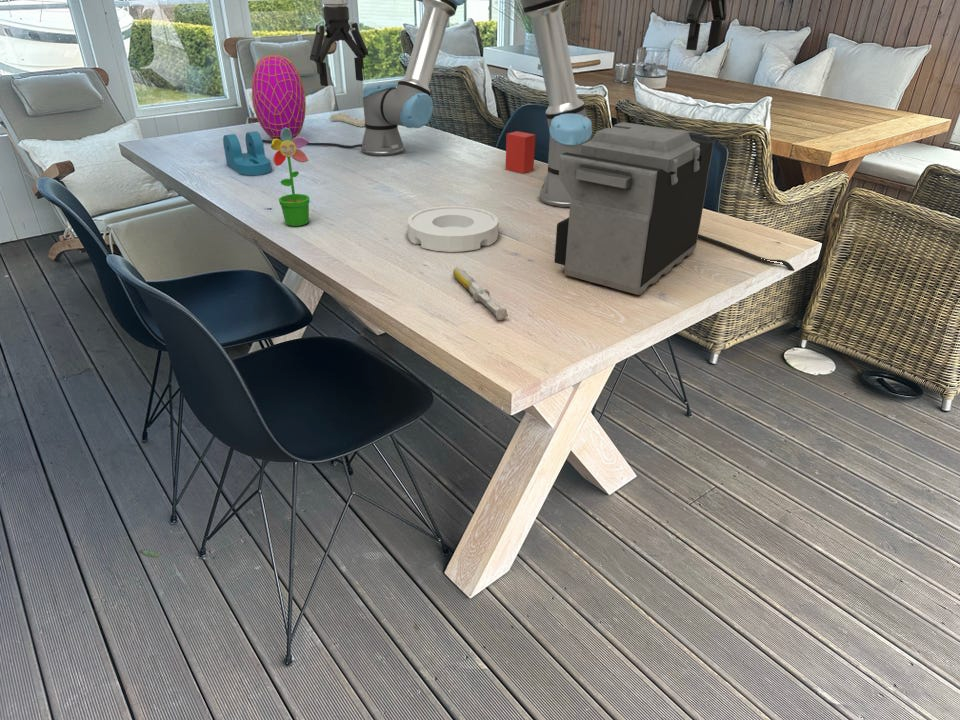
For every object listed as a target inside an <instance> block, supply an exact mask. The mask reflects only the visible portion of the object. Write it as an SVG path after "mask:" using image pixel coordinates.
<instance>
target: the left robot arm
mask: <svg viewBox="0 0 960 720" xmlns="http://www.w3.org/2000/svg"><path fill="white" fill-rule="evenodd" d="M416 1H417V2H421V3H422V5H423V6H424V11H423V13H422V18H421V21H420V23H419V27H418V30H417V34H416V37H415V41H414V44H413V48H412V51H411V54H410V57H409V61H408V64H407V67H406V70H405V74H404V77H403V78H401V79H399V80H398V81H397V85H396V83H394V82H386V83H385V82H384V83H375V84H369V85H366V86H364V87H363V89H362V104H363V115H364V116H363V117H364V120H365V126H364V127H365V130H364V134H363V137H362V143H359V144H353V145H352V144H351V145H347V144H341V143H335V142H309V143H307V144H306V145H305V146H331V147H338V148H344V149H355V148H361V152H362V153H363V154H366V155H368V156H377V157H378V156H379V157H384V156H393V155H399V154H401V153H403V152H404V151H405V148H404V147H405V146H404V143H403V140H402V137H401V134H400V131H399V127H400V126H401V127H405V128H407V129H421V128H422V127H423V126H426V125H427V124H428V123H429V121H430V120H431V118H432V116H433V112H434V105H433V104H434V103H433V99H432V97H431V94H432V92H431V90H430V87H429V86H430V82H431V79H432V75H433V73H434V69H435V67H436V66H435V65H436V63H437V59H438V56H439V53H440V49H441V46H442V43H443V39H444V36H445V33H446V30H447V27H448V22H449V20H450V18H451V17H454V16H456V12H457V9H458V6H462V5H463V4H465V3H466V2H467V0H416ZM321 4H322V5H324V6H323V7H322V18H323V21H324V25H320V24H316V26H315V36H314V40H313V43H312V47H311V50H310V55H309V60H310V61H313V62H314V63H315V65H316V72H317V75H319V83H320V86H322V87H329V80H328V73H327V72H328V70H327V63H326V62H324V61H325V59H326V57H327V55H328V53H329V50H330V49H331V47H332V45H333V44H335V42H339V41H341V42H342V41H344V42H345V43H346V44H347V46H348V47H349V49H350V50H351V51H352V52H353V54H354V55H355V57H353V59H354V72H355V81H359V82H363V81H364V71H363V69H365V68H364V67H365V65H364V62H365V61H364V59H366V56H368V55H369V50H368V48H367V46H366V44H365V41H364V39H363V36H362V35H361V32H360V30H359V24H358V22H349V20H350V9H349V7H348V6H347V5H348V4H349V0H321ZM349 32H350V33H351V34H350V33H349ZM398 126H399V127H398ZM262 141H263V143H265V144H266V143H267V144H272V141H273V140H269V139H268V140H267V139H262Z"/></svg>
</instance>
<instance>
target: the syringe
mask: <svg viewBox="0 0 960 720" xmlns="http://www.w3.org/2000/svg"><path fill="white" fill-rule="evenodd" d="M452 274H453V277H454V279H455V280H457V281H458V282H459V283H460V285H462V287H464V289H466V290H467V291H468V293H470V295H471V296H472V298H473V300H474V302H477V303H478V302H480V303H482V304H483V305H484V306H485V307H486V308H487V309H488V310H489V311H490V312H491V313H492V314H493V315H494V316H495V317H496V320H497V321H503V320H504V319H506V318H507V317H509V314H508V310H507V308H506V307H502V306H501V305H500V303H498V302H497V301H496V300H494V299H493V298H492V297H491V296H490V295H491V293H490V290H488V289H486V288H483V287H482V286H481V285H480V284H479V283H478V282H477V281H476V280H474V278H473V277H471V275H469V274H468V273H467V272H466V270H465V269H464V268H463V267H462V266H456V267H454V268H453V271H452Z"/></svg>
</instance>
